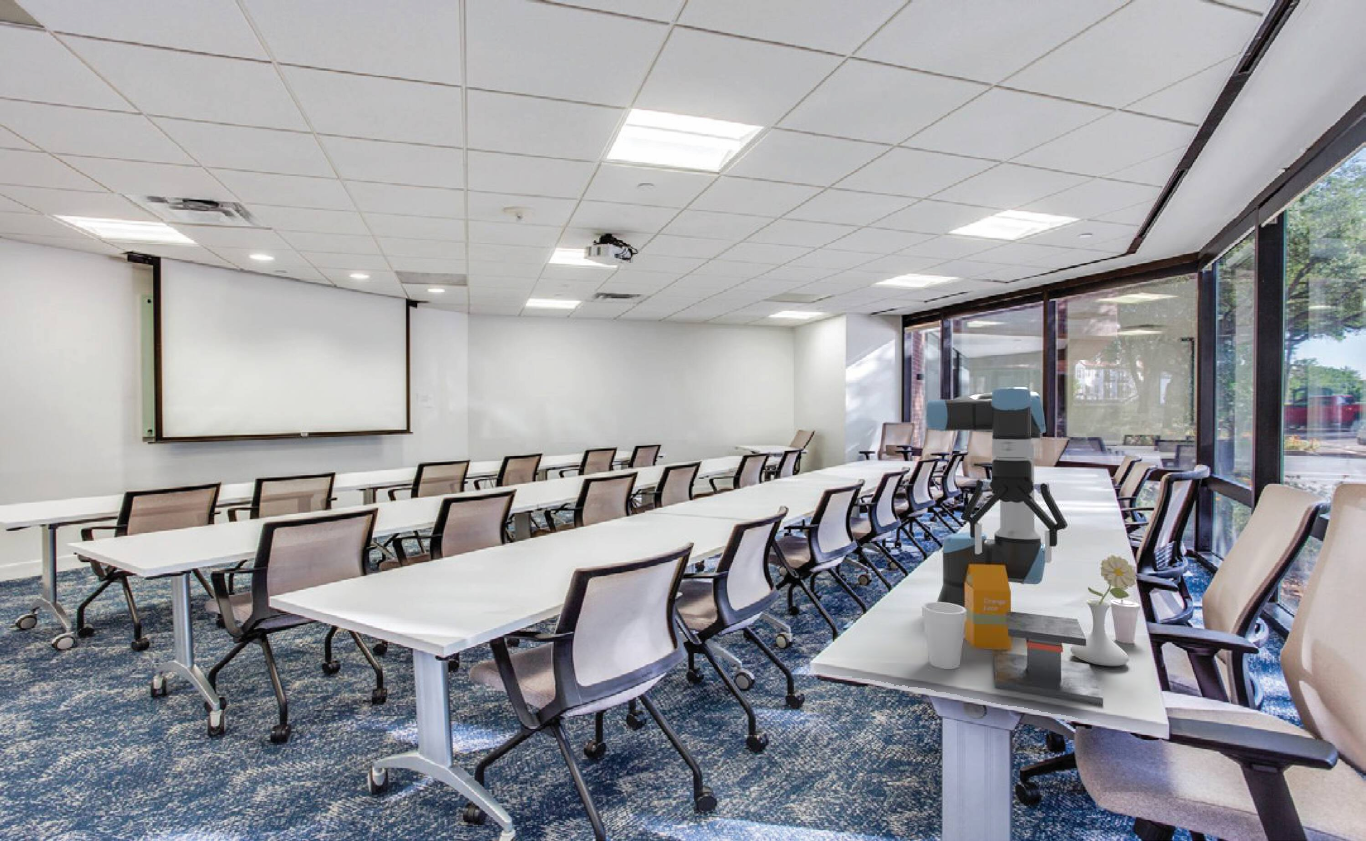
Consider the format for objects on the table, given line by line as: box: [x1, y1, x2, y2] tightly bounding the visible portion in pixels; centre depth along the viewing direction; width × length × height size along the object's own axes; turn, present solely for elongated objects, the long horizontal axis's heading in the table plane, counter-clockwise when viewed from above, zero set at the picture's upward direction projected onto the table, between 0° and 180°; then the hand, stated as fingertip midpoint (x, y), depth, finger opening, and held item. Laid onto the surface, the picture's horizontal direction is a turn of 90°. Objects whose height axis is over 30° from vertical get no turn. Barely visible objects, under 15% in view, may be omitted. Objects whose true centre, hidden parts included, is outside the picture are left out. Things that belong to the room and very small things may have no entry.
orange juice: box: [964, 564, 1012, 651], centre depth 157 cm, size 8×9×20 cm
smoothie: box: [1109, 598, 1141, 644], centre depth 158 cm, size 6×6×14 cm
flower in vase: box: [1070, 555, 1138, 667], centre depth 144 cm, size 13×11×25 cm
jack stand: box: [993, 610, 1104, 706], centre depth 135 cm, size 19×19×12 cm
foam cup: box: [921, 601, 966, 670], centre depth 143 cm, size 10×9×13 cm
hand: (1012, 557), depth 133 cm, fingers open, 13 cm apart
